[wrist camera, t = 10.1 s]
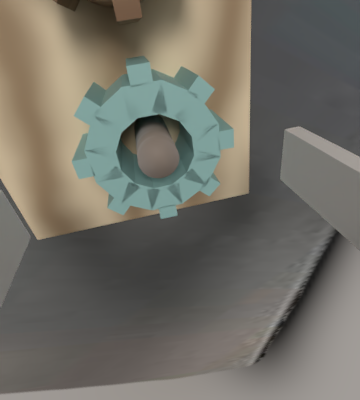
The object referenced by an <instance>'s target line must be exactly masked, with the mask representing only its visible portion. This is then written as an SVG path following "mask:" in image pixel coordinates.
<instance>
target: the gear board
mask: <svg viewBox="0 0 360 400" xmlns="http://www.w3.org/2000/svg"><path fill="white" fill-rule="evenodd" d="M140 6H141V11H142V18H141V19H140V20H139V21H138V22H133V23H127V24H121V25H119V24H118V23H117V20H116V15H115V11H114V8H109V7H104V6H100V5H97V4H94V3H91V2H89V1H87V0H80V1H79V4H78V6H77V8H76V10H75V11H72V10H70V9H68V8H66V7H64V6H61V5H59V4H57V3H55V2H54V1H53V0H0V178H1V180H2V182H3V183H4V185H5V187H6V188H7V190H8V192H9V193H10V195H11V197H12V198H13V200H14V202H15V203H16V205H17V207H18V208H19V210H20V212H21V213H22V215H23V217H24V218H25V220H26V221H27V223H28V225H29V226H30V228H31V230H32V231H33V233H34V235H35V236H36V238H37V240H40V239H45V238H49V237H54V236H58V235H63V234H67V233H72V232H76V231H81V230H85V229H90V228H94V227H99V226H103V225H108V224H112V223H117V222H121V221H126V220H131V219H135V218H140V217H144V216H149V215H153V214H158V213H160V212H159V209H156V210H148V209H143V208H139V207H134V206H130V207H129V208H128V210H127V211H126V212H125V214H124V215H121V214H119V213H117V212H115V211H113V210H110V209H108V208H107V206H108V196H109V193H108V192H107V191H105V190H104V189H103V188H102V187H101V186H99V185H98V184H97V183H96V181H95V178H94V176H92V177H88V178H83V179H79V178H78V176H77V174H76V171H75V169H74V166H73V164H72V159H73V157H74V154H75V152H76V149H77V147H78V145H79V142H80V140H81V138H82V135H83V134H85V133H88V132H89V127H90V125H88V124H86V123H85V122H83V121H81V120H79V119H78V118H76V117H74V114H75V112H76V111H77V109H78V107H79V105H80V103H81V101H82V99H83V97H84V96H85V94H86V93H87V91H88V90H89V88H90V87H91V85H92V84H93V82H95V83H96V84H98V85H99V86H101V87H102V88H104V89H105V90H107V89H108V88H109V87H110V86H111V85H112V84H113V83H114V82H115V81H116V80H117V79H118V78H119V77H120V76H121V75H123V74H128V73H127V68H126V58H132V57H138V56H143V55H144V56H145V58H146V59H147V60H148V61H149V62H150V67H151V69H154V70H156V71H159V72H161V73H164V74H166V75H168V76H171V77H173V78H174V77H175V75H176V73H177V72H178V70H179V69H180V67H181V66H183V67H184V68H186V69H188V70H190V71H192V72H193V73H195V74H197V75H199V76H200V77H201V78H202V79H203V80H205V81H206V82H207V83H208V84H209V85H210V86H212V87H213V88H214V89H215V90H214V91H213V93H212V94H211V96H210V97H209V98H208V100H207V101H206V102H205V105H206V106H207V108H208V109H211V110H212V111H214V112H215V113H216V114H217V115H218V116H219V117H220V118H222V119H223V120H224V121H225V122H226V123H227V124H229V125H230V126H231V127H232V128H233V129H234V147H233V148H228V149H223V150H220V154H221V157H220V159H219V161H218V163H217V165H216V167H215V169H214V172H213V173H214V174H215V176H216V177H217V179H218V180H219V182H220V183H221V184H220V185H219V186H218V187H217V188H216V189H215V191H214V192H213V193H212V194H211V195H210V196H208V195H206V194H204V193H203V192H201V191H198V192H197V193H196V194H194V195H193V196H192V197H191V198H189V199H188V200H187V201H185V202H184V203H183V204H179V205H176V209H180V208H185V207H189V206H194V205H198V204H203V203H207V202H212V201H217V200H221V199H226V198H230V197H235V196H239V195H244V194H248V193H249V140H250V58H251V0H144V1H142V2H140ZM179 132H180V128H179V121H177V120H175V119H172V118H169V117H166V116H163V115H161V114H157V115H152V116H146V117H141V118H137V119H136V120H135V121H134V122H133V123H132V124H131V125H129V126H128V127H127V128H126V129H125V130H124V131H123V132H122V133H121V136H120V137H121V140H122V143H123V144H124V145H125V146H126V147H127V148H128V149H129V150H130V151H131V152H132V153H133V154H136V155H137V159H138V165H139V167H140V169H141V171H142V172H143V173H144V174H146V175H147V176H149V177H152V178H164V177H167V176H169V175H170V174H172V173H173V172H174V171H175V170H176V168H177V166H178V164H179V153H178V150H177V148H176V146H175V142H176V140H177V137H178V135H179Z"/></svg>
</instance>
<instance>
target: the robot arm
mask: <svg viewBox="0 0 360 400" xmlns="http://www.w3.org/2000/svg"><path fill="white" fill-rule="evenodd" d="M280 180H282V181H283V182H284V183H285V184H286V185H287V186H288V187H289V188H291V189H292V190H293V191H294V192H295V193H296V194H297V195H298V196H299V197H301V198H302V199H303V200H304V201H305V202H306V203H307V204H308V205H309V206H311V207H312V208H313V209H314V210H315V211H316V212H317V213H318V214H320V215H321V216H322V217H323V218H324V219H325V220H326V221H327V222H328V223H330V224H331V225H332V226H333V227H334V228H335V229H336V230H337V231H339V232H340V233H341V234H342V235H343V236H344V237H345V238H346V239H347V240H349V241H350V242H351V243H352V244H353V245H354V246H355V247H356V248H357V249H359V250H360V157H359V156H357V155H355V154H353V153H351V152H349V151H347V150H345V149H343V148H341V147H339V146H337V145H335V144H333V143H331V142H329V141H327V140H325V139H323V138H321V137H320V136H318V135H316V134H314V133H312V132H310V131H308V130H306V129H304V128H302V127H300V126H299V127H294V128H290V129H285V132H284V143H283V154H282V164H281V175H280ZM30 238H31V236H30V234H29V233H28V231H27V230H26V228H25V226H24V225H23V223H22V222H21V220H20V218H19V217H18V215H17V214H16V212H15V210H14V209H13V207H12V206H11V204H10V202H9V201H8V199H7V198H6V196H5V194H4V193H3V191H2V190H0V309H1V306H2V304H3V302H4V299H5V297H6V294H7V292H8V290H9V287H10V285H11V283H12V280H13V278H14V276H15V273H16V271H17V269H18V266H19V264H20V262H21V259H22V257H23V255H24V252H25V250H26V248H27V245H28V243H29V240H30Z"/></svg>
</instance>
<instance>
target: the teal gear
mask: <svg viewBox="0 0 360 400" xmlns="http://www.w3.org/2000/svg"><path fill="white" fill-rule="evenodd" d="M126 68H127V73H128V74H123V75H121V76H120V77H119V78H118V79H117V80H116V81H115V82H114V83H113V84H112V85H111V86H110V87H109V88H108V89H107V90H105V89H104V88H102V87H101V86H99V85H98V84H96V83H95V82H93V84H92V85H91V87H90V88H89V90H88V91H87V93H86V94H85V96H84V97H83V99H82V101H81V103H80V105H79V107H78V109H77V111H76V112H75V114H74V117H76V118H78V119H79V120H81V121H83V122H85V123H86V124H88V125H90V127H89V132H88V133H85V134H83V135H82V138H81V140H80V142H79V145H78V147H77V149H76V152H75V154H74V157H73V159H72V164H73V166H74V169H75V171H76V174H77V176H78V178H79V179H83V178H88V177H92V176H94V178H95V181H96V183H97V184H98V185H99V186H101V187H102V188H103V189H104V190H105V191H107V192H108V193H109V196H108V206H107V208H108V209H110V210H113V211H115V212H117V213H119V214H121V215H124V214H125V212H126V211H127V210H128V208H129V207H130V206H134V207H139V208H143V209H148V210H156V209H159V212H160V217H161V219H164V218H168V217H173V216H177V210H176V205H179V204H183V203H184V202H185V201H187V200H188V199H189V198H191V197H192V196H193V195H194V194H196V193H197V192H198V191H201V192H203V193H204V194H206V195H208V196H210V195H211V194H212V193H213V192H214V191H215V189H216V188H217V187H218V186H219V185H220V184H221V183H220V182H219V180H218V179H217V177H216V176H215V174H214V173H213V172H214V169H215V167H216V165H217V163H218V161H219V159H220V157H221V154H220V150H223V149H228V148H233V147H234V129H233V128H232V127H231V126H230V125H229V124H227V123H226V122H225V121H224V120H223V119H222V118H220V117H219V116H218V115H217V114H216V113H215V112H214V111H212V110H211V109H208V108H207V106H206V105H205V102H206V101H207V100H208V98H209V97H210V96H211V94H212V93H213V91H214V90H215V89H214V88H213V87H212V86H210V85H209V84H208V83H207V82H206V81H205V80H203V79H202V78H201V77H200V76H199V75H197V74H195V73H193V72H192V71H190V70H188V69H186V68H184V67H183V66H181V67H180V69H179V70H178V72H177V73H176V75H175V77H174V78H173V77H171V76H168V75H166V74H164V73H161V72H159V71H156V70H154V69H151V67H150V62H149V61H148V60H147V59H146V58H145V56H144V55H143V56H138V57H132V58H126ZM157 114H161V115H163V116H166V117H169V118H172V119H175V120H177V121H179V128H180V132H179V135H178V137H177V140H176V142H175V146H176V148H177V150H178V153H179V164H178V166H177V168H176V170H175V171H174V172H173V173H172V174H170V175H169V176H167V177H164V178H152V177H149V176H147V175H146V174H144V173H143V172H142V171H141V169H140V167H139V165H138V159H137V155H136V154H133V153H132V152H131V151H130V150H129V149H128V148H127V147H126V146H125V145H124V144H123V143H122V140H121V137H120V136H121V133H122V132H123V131H124V130H125V129H126V128H127V127H128V126H129V125H131V124H132V123H133V122H134V121H135V120H136V119H137V118H141V117H146V116H152V115H157Z"/></svg>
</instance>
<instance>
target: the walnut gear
mask: <svg viewBox="0 0 360 400" xmlns="http://www.w3.org/2000/svg"><path fill="white" fill-rule="evenodd" d="M53 1H54V2H55V3H57V4H59V5H61V6H64V7H66V8H68V9H70V10H72V11H75V10H76V8H77V6H78V4H79V1H80V0H53ZM87 1H89V2H91V3H94V4H97V5H100V6H104V7H109V8H114V11H115V15H116V20H117V23H118V24H119V25H121V24H127V23H133V22H138V21H139V20H140V19H141V18H142V11H141V6H140V2H142V1H144V0H87Z"/></svg>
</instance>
